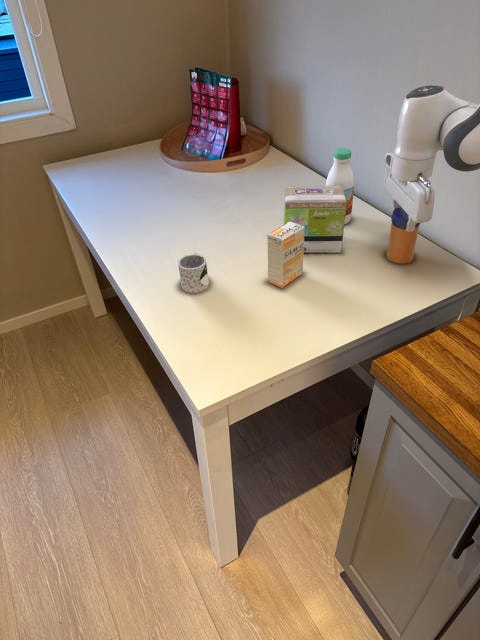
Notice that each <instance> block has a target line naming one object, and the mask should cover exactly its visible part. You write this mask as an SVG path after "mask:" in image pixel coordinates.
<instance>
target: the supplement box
mask: <svg viewBox="0 0 480 640" xmlns="http://www.w3.org/2000/svg"><path fill="white" fill-rule="evenodd" d="M304 230H305V227H304V226H301V225H299V224H296V223H293V222H288V223H286V224H285V225H283V224H282V225H281V226H279V227H278V228H276V229H274V230H272V231H271V232H269V233H267V234H266V235H267V238H266V239H267V282H268V283H269V284H272V285H274V286H277V287H278V288H281V289H283V288H285V287H286V286H287V285H289V284H290V283H291V282H293V281H294V280H295V279H297V278H299V277H300V276H302V275H303V273H304Z"/></svg>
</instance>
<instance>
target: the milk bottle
mask: <svg viewBox="0 0 480 640" xmlns="http://www.w3.org/2000/svg"><path fill="white" fill-rule="evenodd" d="M351 159H352V150H351V149H349V148H346V147H339V148H336V149H334V150H333V164H332V166H331V168H330V171H329V172H328V174H327V177H326V182H325V186H339V185H342V188H343V191H344V195H345V199H346V213H345V221H344V225H347V224H348V223H350V221H351V220H352V215H353V205H354V192H355V175H354V172H353V170H352V167H351Z"/></svg>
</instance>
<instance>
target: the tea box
mask: <svg viewBox="0 0 480 640" xmlns="http://www.w3.org/2000/svg"><path fill="white" fill-rule="evenodd" d="M345 213H346V199H345V195H344V191H343V188H342V185H339V186H326V185H299V186H298V185H291V186H290V185H288V186H287V185H286V186H284V187H283V220H282V221H283V223H282V226H283V225H285V224H286V223H288V222H293V223H296V224H299V225H301V226H304V227H305V230H304V253H325V254H327V253H332V254H333V253H335V254H340V253H341V252H342V248H343V240H344V232H345V231H344V230H345V224H344V221H345ZM304 253H303V254H304Z"/></svg>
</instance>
